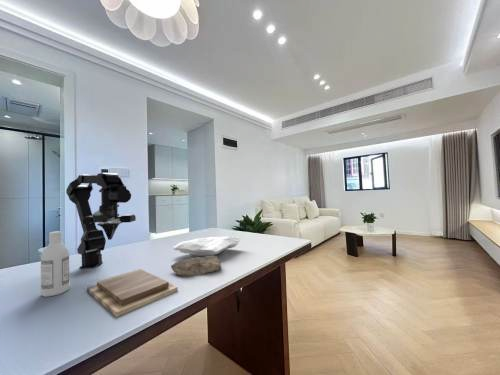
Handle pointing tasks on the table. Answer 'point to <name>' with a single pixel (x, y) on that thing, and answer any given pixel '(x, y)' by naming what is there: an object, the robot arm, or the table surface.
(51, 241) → the bath foam
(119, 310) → the oak floor board
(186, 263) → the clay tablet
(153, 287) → the walnut plank
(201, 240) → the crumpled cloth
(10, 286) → the table surface
